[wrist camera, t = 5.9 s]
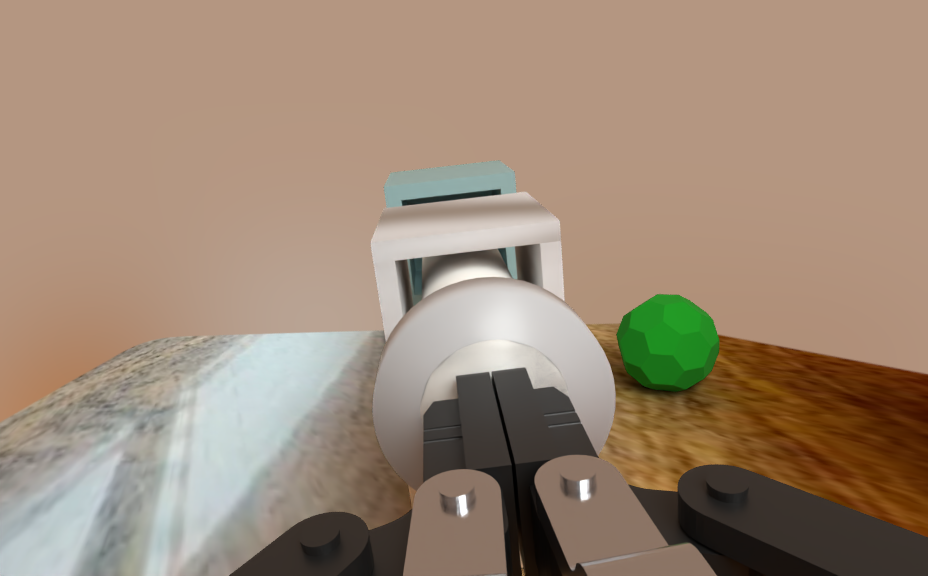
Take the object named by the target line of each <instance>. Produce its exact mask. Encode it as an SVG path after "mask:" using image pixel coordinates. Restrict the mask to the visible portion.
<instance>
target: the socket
mask: <svg viewBox="0 0 928 576" xmlns="http://www.w3.org/2000/svg"><path fill="white" fill-rule="evenodd" d="M384 192H385V199H386V205H387V208H390V207H399V206H407V205H416V204H425V203H433V202H442V201H451V200H459V199H468V198H476V197H485V196H494V195H502V194H511V193H516V183H515V173H514V171H513V170H511V169H510V168H509V167H507V166H506V165H505V164H503V163H502V162H500V161H499V160H498V161H489V162H481V163H472V164H463V165H455V166H446V167H437V168H429V169H419V170H411V171H403V172H394V173H390V175H389V178H388V180H387V182H386V183H385V186H384ZM498 250H499V252H500V254H501V256H502V258H503V260H504V262H505V264H506V266H507V268H508V270H509V272H510V274H511V276H512V278H513V279H517V268H516V256H515V246H514V247H506V248H498ZM407 261H408V268H409V276H410V283H411V290H412V297H413V305H414V306H415V305H416V304H417V303H418V302H419V301H421V300H422V258H413V259H407Z"/></svg>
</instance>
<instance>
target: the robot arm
mask: <svg viewBox="0 0 928 576" xmlns="http://www.w3.org/2000/svg"><path fill="white" fill-rule="evenodd" d="M491 375H492V382H491V377H490V373H489V372H482V373H474V374H466V375H458V376H456V383H457V392H458V398H457V399H449V400H441V401H433V403H432V404H431V405H430V407H429V408H428V409H427V411H426V412H425V414H424V415H423V430H424V432H423V442H424V444H423V484H422V485H421V486H420V487H419V488H418V490H417V492H416V494H415V497H414V503H413V509H411V510H410V511H409V512H408V513H407V514H405V515H404V516H402V517H401V518H399V519H397V520H395V521H393V522H391V523H388V524H386V525H383V526H380V527H378V528H375V529H372V530H368V527H367V525H366V523H365V522H364V521H363V520H362V519H361V518H359V517H358V516H356V515H353V514H350V513H345V512H329V513H323V514H319V515H315V516H312V517H310V518H307V519H305V520H303V521H301V522H299V523H297V524H296V525H294V526H293V527H292V528H290V529H289V530H288V531H286V532H285V533H284V534H282V535H281V536H280V537H278V538H277V539H276V540H275V541H273V542H272V543H271V544H269V545H268V546H267V547H266V548H264V549H263V550H262V551H260V552H259V553H258V554H256V555H255V556H254V557H253V558H251V559H250V560H249V561H247V562H246V563H245V564H243V565H242V566H241V567H240V568H238V569H237V570H236V571H234V572H233V573H232V574H231V575H229V576H522V571H521V561H520V555H521V560H522V564H523V569H524V574H525V576H928V537H925V536H923V535H920V534H917V533H915V532H912V531H909V530H907V529H904V528H901V527H898V526H896V525H893V524H890V523H888V522H885V521H882V520H880V519H877V518H874V517H872V516H869V515H866V514H864V513H861V512H858V511H856V510H853V509H850V508H848V507H845V506H842V505H840V504H837V503H834V502H832V501H829V500H826V499H824V498H821V497H818V496H816V495H813V494H810V493H808V492H805V491H802V490H800V489H797V488H794V487H792V486H789V485H786V484H783V483H781V482H778V481H775V480H773V479H770V478H767V477H765V476H762V475H759V474H757V473H754V472H751V471H749V470H746V469H743V468H739V467H735V466H729V465H716V464H715V465H704V466H699V467H696V468H693V469H691V470H689V471H687V472H686V473H684V474H683V475H682V477H681V478H680V480H679V482H678V492H674V491H662V490H651V489H643V488H639V487H635V486H632V485H628V484H627V482H626V481H625V479H624V478H623V476H622V475H621V473H620V472H619V471H618V470H617V468H616V467H614V466H613V465H612V464H610V463H609V462H607V461H605V460H602V459H600V458H599V457H598V455H597V453H596V451H595V449H594V447H593V445H592V443H591V441H590V439H589V437H588V435H587V433H586V431H585V429H584V427H583V425H582V424H581V421H580V419H579V417H578V415H577V413H576V412H575V409H574V407H573V405H572V402H571V400H570V398H569V397H568V396H567V395H565V394H564V393H562V392H561V391H559V390H558V389H556V388H555V387H545V388H537V389H534V388H533V386H532V383H531V380H530V378H529V375H528V372H527V370H526V368H525V367H522V368H514V369H506V370H498V371H492V372H491Z"/></svg>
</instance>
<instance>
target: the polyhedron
mask: <svg viewBox="0 0 928 576" xmlns="http://www.w3.org/2000/svg"><path fill="white" fill-rule="evenodd" d="M616 335H617V340H618V345H619V349H620V352H621V356H622V359H623V363H624V366H625V369H626V371H627V373H628V374H629V375H631V376H632V377H633V378H634V379H636V380H637V381H638V382H639V383H640V384H642V385H643V386H645V387H648V388H651V389H654V390H663V391H674V392H677V391H682V390H686V389H687V388H689V387H691V386H693V385H694V384H696V383H698V382H699V381H701V380H703V379H704V378H705V377H706V376H707V375H708V374H709V373H710V372H711V371H712V369H713V366H714V364H715V361H716V358H717V356H718V353H719V338H718V335H717V331H716V328H715V326H714V322H713V320H712V318H711V317H710V316H709V315H708V314H707V313H706V312H705V311H704V310H702V309H701V308H699V307H698V306H697V305H695V304H694V303H692V302H691V301H690V300H688V299H686V298H684V297H682V296H680V295H663V294H657V295H655V296H654V297H652V298H650V299H649V300H648V301H646V302H644V303H643V304H641V305H639V306H638V307H636V308H635V309H633V310H632V311H631V312H629V313H627V314H626V315H624V316H623V319H622V322H621V324H620V327H619V329H618V332H617V334H616Z"/></svg>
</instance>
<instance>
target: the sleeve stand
mask: <svg viewBox="0 0 928 576" xmlns="http://www.w3.org/2000/svg"><path fill="white" fill-rule="evenodd" d="M514 246H515V256H516V268H517V280H522V281H526V282H529V283H532V284H535V285H538V286H540V287H542V288H544V289H546V290H548V291H550V292H552V293H553V294H555V295H556V296H558V297H559V298H560V299H562V300H563V301H564V283H563V267H562V251H561V235H560V220H559V219H557V218H556V217H555V216H554V215H553V214H551V213H550V212H549V211H548V210H547V209H546V208H544V207H543V206H542V205H541V204H540V203H539V202H537V201H536V200H535V199H534V198H533V197H532V196H530V195H529V194H528V193H527V192H519V193H511V194H502V195H494V196H485V197H476V198H468V199H459V200H451V201H442V202H433V203H425V204H416V205H407V206H399V207H390V208H384V210H383V212H382V215H381V217H380V220H379V222H378V225H377V227H376V230H375V232H374V235H373V238H372V240H371V249H372V255H373V262H374V268H375V275H376V281H377V288H378V295H379V301H380V307H381V314H382V320H383V327H384V333H385V340H386V341H387V340H388V338H389V336H390V334H391V332H392V331H393V329H394V328H395V326H396V325H397V323H398V322H399V321H400V319H401V318H402V317H403V316H404V315H405V314H406V313H407V312H408V311H409V310H410V309H411V308H412V307H413V306H414V305H413V297H412V290H411V283H410V276H409V268H408V261H407V259H413V258H422V257H430V256H438V255H447V254H455V253H464V252H472V251H481V250H489V249H497V248H506V247H514ZM564 302H565V301H564ZM408 487H409V494H410V500H411V507H412V509H413V503H414V497H415V494H416V492H417V491H416V490H414V489H413V488H412V487H410V486H409V485H408ZM520 561H521V568H523V564H522V560H521V555H520Z"/></svg>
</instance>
